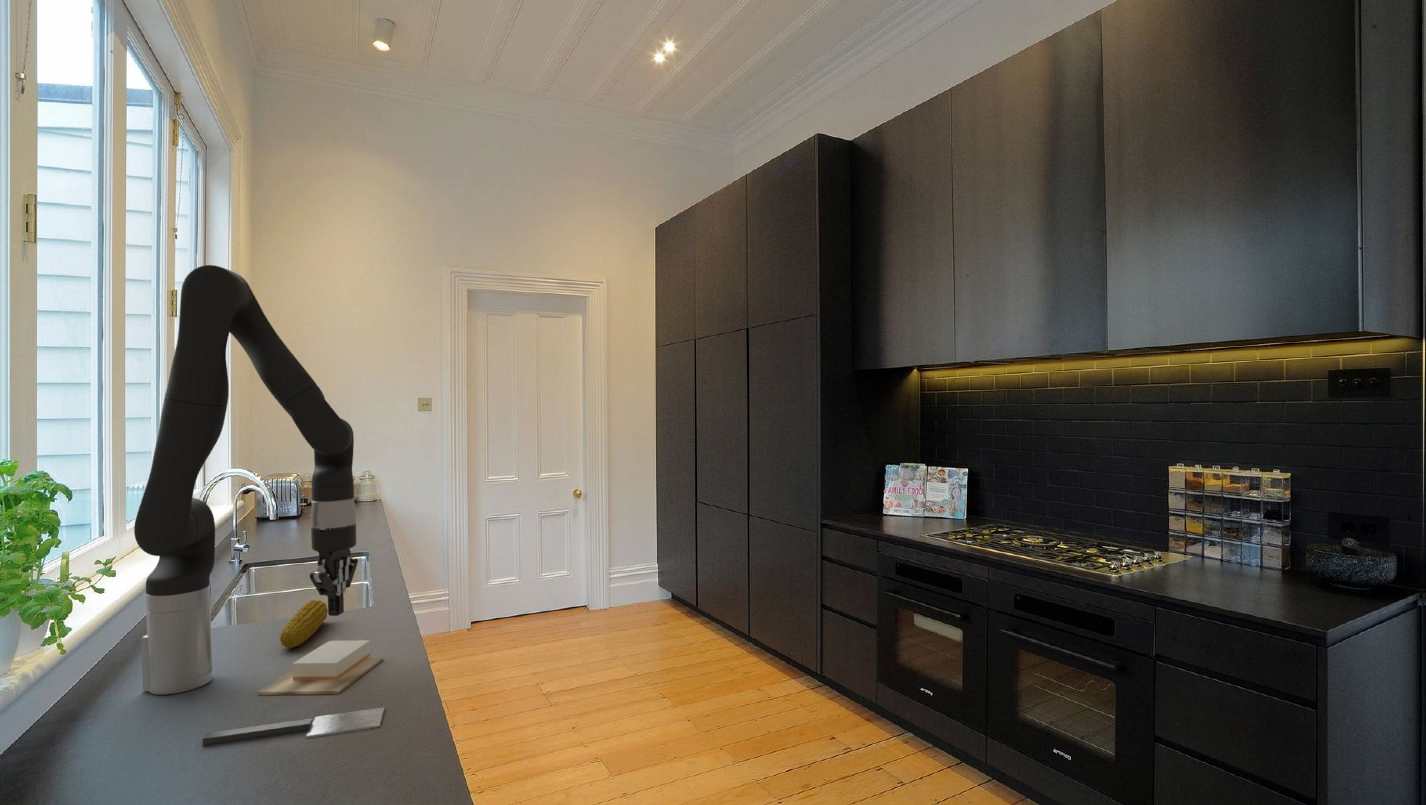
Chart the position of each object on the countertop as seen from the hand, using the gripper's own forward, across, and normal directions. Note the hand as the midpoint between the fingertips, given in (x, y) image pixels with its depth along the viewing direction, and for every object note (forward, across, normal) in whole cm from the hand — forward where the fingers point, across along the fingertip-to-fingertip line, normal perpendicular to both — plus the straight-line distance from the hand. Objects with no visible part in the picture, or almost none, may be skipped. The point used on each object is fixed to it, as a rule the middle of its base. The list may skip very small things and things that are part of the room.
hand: (336, 614), depth 138 cm
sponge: (+8, -5, 0) cm, 9 cm away
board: (+10, +4, 0) cm, 11 cm away
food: (+10, -18, -17) cm, 27 cm away
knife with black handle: (+10, +26, +8) cm, 29 cm away
